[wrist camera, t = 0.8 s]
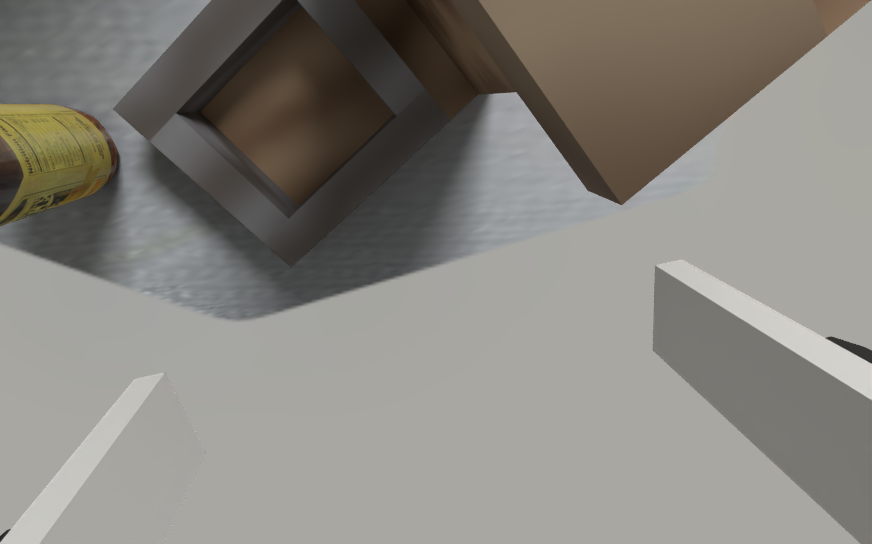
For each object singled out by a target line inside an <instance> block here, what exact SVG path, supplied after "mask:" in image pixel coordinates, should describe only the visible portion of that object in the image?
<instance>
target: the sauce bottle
mask: <svg viewBox="0 0 872 544" xmlns="http://www.w3.org/2000/svg"><path fill="white" fill-rule="evenodd" d="M117 157H118V155H117V149H116V147H115V145H114V142H113V140H112V139H111V137H110V135H109V134H108V133H107V131H106V130H105V128H104V127H103V126H101V124H100V123H99V122H98V121H97V120H96V119H95V118H94V117H92V116H90V115H88V114H85V113H83V112H81V111H79V110H75V109H72V108H67V107H62V106H58V105H52V104H0V226H2V225H5V224H7V223H10V222H14V221H17V220H20V219H23V218H26V217H28V216H31V215H34V214H37V213H39V212H42V211H45V210H48V209H51V208H54V207H57V206H60V205H63V204H66V203H69V202H72V201H75V200H78V199H80V198H83V197H86V196H89V195H91V194H94V193H95V192H97V191H98V190H99V189H100V188H101V187H103V186H105V185H107V184H108V183H109V182H110V181H111V180H112V177H113V175H114V173H115V170H116V164H117Z"/></svg>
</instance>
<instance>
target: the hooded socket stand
mask: <svg viewBox="0 0 872 544" xmlns="http://www.w3.org/2000/svg"><path fill="white" fill-rule="evenodd" d="M869 1H871V0H211V2H210V3H209V4H208V5H207V6H206V7H205V8H204V9H203V10H202V11H201V13H200V14H199V15H198V16H197V17H196V18H195V19H194V20H193V21H192V22H191V24H190V25H189V26H188V27H187V28H186V29H185V30H184V31H183V32H182V33H181V35H180V36H179V37H178V38H177V39H176V40H175V41H174V42H173V43H172V44H171V46H170V47H169V48H168V49H167V50H166V51H165V52H164V53H163V54H162V55H161V57H160V58H159V59H158V60H157V61H156V62H155V63H154V64H153V65H152V66H151V68H150V69H149V70H148V71H147V72H146V73H145V74H144V75H143V76H142V77H141V79H140V80H139V81H138V82H137V83H136V84H135V85H134V86H133V87H132V88H131V90H130V91H129V92H128V93H127V94H126V95H125V96H124V97H123V98H122V99H121V101H120V102H119V103H118V104H117V105H116V106H115V107H114V108H113V110H114V111H116V112H117V113H118V114H119V115H120V116H121V117H122V118H123V119H125V120H126V121H127V122H128V123H129V124H130V125H131V126H132V127H134V128H135V129H136V130H137V131H138V132H139V133H140V134H141V135H143V136H144V137H145V138H146V139H147V140H148V141H149V142H151V143H152V144H153V145H154V146H155V147H156V148H157V149H158V150H160V151H161V152H162V153H163V154H164V155H165V156H166V157H167V158H169V159H170V160H171V161H172V162H173V163H174V164H175V165H176V166H178V167H179V168H180V169H181V170H182V171H183V172H184V173H185V174H187V175H188V176H189V177H190V178H191V179H192V180H193V181H194V182H196V183H197V184H198V185H199V186H200V187H201V188H202V189H203V190H205V191H206V192H207V193H208V194H209V195H210V196H211V197H212V198H214V199H215V200H216V201H217V202H218V203H219V204H220V205H221V206H223V207H224V208H225V209H226V210H227V211H228V212H229V213H230V214H232V215H233V216H234V217H235V218H236V219H237V220H238V221H240V222H241V223H242V224H243V225H244V226H245V227H246V228H247V229H249V230H250V231H251V232H252V233H253V234H254V235H255V236H256V237H258V238H259V239H260V240H261V241H262V242H263V243H264V244H265V245H267V246H268V247H269V248H270V249H271V250H272V251H273V252H274V253H276V254H277V255H278V256H279V257H280V258H281V259H282V260H283V261H285V262H286V263H287V264H288V265H289V266H290V267H292V266H293V265H294V264H295V263H296V262H298V261H299V260H300V259H301V258H302V257H303V256H304V255H305V254H306V253H307V252H308V251H309V250H310V249H312V248H313V247H314V246H315V245H316V244H317V243H318V242H319V241H320V240H321V239H322V238H323V237H325V236H326V235H327V234H328V233H329V232H330V231H331V230H332V229H333V228H334V227H335V226H336V225H337V224H339V223H340V222H341V221H342V220H343V219H344V218H345V217H346V216H347V215H348V214H349V213H350V212H352V211H353V210H354V209H355V208H356V207H357V206H358V205H359V204H360V203H361V202H362V201H363V200H365V199H366V198H367V197H368V196H369V195H370V194H371V193H372V192H373V191H374V190H375V189H376V188H377V187H379V186H380V185H381V184H382V183H383V182H384V181H385V180H386V179H387V178H388V177H389V176H390V175H392V174H393V173H394V172H395V171H396V170H397V169H398V168H399V167H400V166H401V165H402V164H403V163H404V162H406V161H407V160H408V159H409V158H410V157H411V156H412V155H413V154H414V153H415V152H416V151H417V150H419V149H420V148H421V147H422V146H423V145H424V144H425V143H426V142H427V141H428V140H429V139H430V138H431V137H433V136H434V135H435V134H436V133H437V132H438V131H439V130H440V129H441V128H442V127H443V126H444V125H446V124H447V123H448V122H449V121H450V120H451V119H452V118H453V117H454V116H455V115H456V114H457V113H458V112H459V111H460V110H461V109H463V108H464V107H465V106H466V105H467V104H468V103H469V102H470V101H471V100H472V99H473V98H474V97H475V96H477V95H478V94H493V93H510V92H517V93H518V95H519V96H520V97H521V99H522V100H523V102H524V103H525V104H526V106H527V107H528V108H529V110H530V111H531V113H532V114H533V115H534V117H535V118H536V119H537V121H538V122H539V124H540V125H541V126H542V128H543V129H544V131H545V132H546V133H547V135H548V136H549V137H550V139H551V140H552V142H553V143H554V144H555V146H556V147H557V149H558V150H559V151H560V153H561V154H562V155H563V157H564V158H565V160H566V161H567V162H568V164H569V165H570V166H571V168H572V169H573V171H574V172H575V173H576V175H577V176H578V178H579V179H580V180H581V182H582V183H583V184H584V186H585V187H586V189H587V190H588V191H590V192H592V193H595V194H597V195H599V196H602V197H604V198H606V199H609V200H611V201H613V202H616V203H618V204H620V205H623V204H624V203H625V202H626V201H627V200H629V199H630V198H631V197H632V196H633V195H635V194H636V193H637V192H638V191H640V190H641V189H642V188H643V187H644V186H646V185H647V184H648V183H649V182H650V181H652V180H653V179H654V178H655V177H657V176H658V175H659V174H660V173H661V172H663V171H664V170H665V169H666V168H668V167H669V166H670V165H671V164H672V163H674V162H675V161H676V160H677V159H678V158H680V157H681V156H682V155H683V154H685V153H686V152H687V151H688V150H689V149H691V148H692V147H693V146H694V145H695V144H697V143H698V142H699V141H700V140H702V139H703V138H704V137H705V136H706V135H708V134H709V133H710V132H711V131H713V130H714V129H715V128H716V127H717V126H719V125H720V124H721V123H722V122H723V121H725V120H726V119H727V118H728V117H730V116H731V115H732V114H733V113H734V112H736V111H737V110H738V109H739V108H740V107H742V106H743V105H744V104H745V103H747V102H748V101H749V100H750V99H751V98H753V97H754V96H755V95H756V94H757V93H759V92H760V91H761V90H762V89H764V88H765V87H766V86H767V85H768V84H770V83H771V82H772V81H773V80H774V79H776V78H777V77H778V76H779V75H781V74H782V73H783V72H784V71H785V70H787V69H788V68H789V67H790V66H792V65H793V64H794V63H795V62H796V61H798V60H799V59H800V58H801V57H803V56H804V55H805V54H806V53H807V52H808V51H810V50H811V49H812V48H813V47H815V46H816V45H817V44H818V43H819V42H821V41H822V40H823V39H824V38H825V37H827V36H828V35H829V34H830V33H832V32H833V31H834V30H835V29H836V28H838V27H839V26H840V25H841V24H843V23H844V22H845V21H846V20H847V19H849V18H850V17H851V16H852V15H853V14H855V13H856V12H857V11H858V10H860V9H861V8H862V7H863V6H865V5H866V4H867V3H868V2H869Z"/></svg>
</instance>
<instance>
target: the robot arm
mask: <svg viewBox="0 0 872 544" xmlns="http://www.w3.org/2000/svg"><path fill="white" fill-rule="evenodd" d="M654 290H655V291H654V325H653V351H654V352H655V353H656V354H657V355H658V356H660V357H661V358H662V359H663V360H664V361H665V362H666V363H667V364H668V365H669V366H670V367H671V368H672V369H674V370H675V371H676V372H677V373H678V374H679V375H680V376H681V377H682V378H683V379H684V380H685V381H687V382H688V383H689V384H690V385H691V386H692V387H693V388H694V389H695V390H696V391H697V392H698V393H700V395H701V396H703V397H704V398H705V399H706V400H707V401H708V402H709V403H710V404H711V405H712V406H713V407H714V408H715V409H717V410H718V411H719V412H720V413H721V414H722V415H723V416H724V417H725V418H726V419H728V421H729V422H731V423H732V424H733V425H734V426H735V427H736V428H737V429H738V430H739V431H740V432H741V433H742V434H743V435H744V436H745V437H747V438H748V439H749V440H750V441H751V442H752V443H753V444H754V445H755V446H756V447H757V448H758V449H759V450H761V451H762V452H763V453H764V454H765V455H766V456H767V457H768V458H769V459H770V460H771V461H772V462H773V463H774V464H776V465H777V466H778V467H779V468H780V469H781V470H782V471H783V472H784V473H785V474H786V475H788V476H789V477H790V478H791V479H792V480H793V481H794V482H795V483H796V484H797V485H798V486H799V487H800V488H801V489H802V490H804V491H805V492H806V493H807V494H808V495H809V496H810V497H811V498H812V499H813V500H814V501H815V502H816V503H817V504H819V505H820V506H821V507H822V508H823V509H824V510H825V511H826V512H827V513H828V514H829V515H830V516H832V517H833V518H834V519H835V520H836V521H837V522H838V523H839V524H840V525H841V526H842V527H843V528H844V529H845V530H846V531H848V532H849V533H850V534H851V535H852V536H853V537H854V538H855V539H856V540H857V541H858V542H859V543H861V544H872V351H871V350H869V349H867V348H865V347H862V346H859V345H856V344H853V343H850V342H847V341H844V340H841V339H837V338H834V337H827V338H824V337H822V336H820V335H818V334H817V333H815V332H813V331H811V330H809V329H807V328H805V327H804V326H802V325H800V324H798V323H797V322H795V321H793V320H791V319H789V318H787V317H786V316H784V315H782V314H780V313H778V312H777V311H775V310H773V309H771V308H769V307H767V306H766V305H764V304H762V303H760V302H758V301H757V300H755V299H753V298H751V297H749V296H747V295H746V294H744V293H742V292H740V291H738V290H737V289H735V288H733V287H731V286H729V285H727V284H726V283H724V282H722V281H720V280H718V279H716V278H714V277H713V276H711V275H709V274H707V273H705V272H704V271H702V270H700V269H698V268H696V267H695V266H693V265H691V264H689V263H687V262H686V261H684V260H677V261H672V262H668V263H664V264H659V265H655V287H654ZM205 453H206V452H205V450H204V448H203V446H202V444H201V442H200V440H199V438H198V436H197V434H196V432H195V430H194V428H193V426H192V424H191V422H190V421H189V418H188V416H187V414H186V412H185V410H184V408H183V406H182V404H181V403H180V401H179V399H178V397H177V395H176V393H175V391H174V389H173V387H172V385H171V383H170V381H169V379H168V377H167V375H166V373H165V372H164V373H159V374H155V375H150V376H146V377H141V378H136V379H134V380H133V382H132V383H131V384H130V385H129V386H128V388H127V389H126V390H125V391H124V393H123V394H122V395H121V396H120V397H119V399H118V400H117V401H116V402H115V403H114V405H113V406H112V407H111V408H110V409H109V411H108V412H107V413H106V414H105V416H104V417H103V418H102V419H101V420H100V422H99V423H98V424H97V426H96V427H95V428H94V429H93V430H92V431H91V433H90V434H89V435H88V437H86V439H85V440H84V441H83V442H82V444H81V445H80V446H79V447H78V448H77V450H76V451H75V452H74V453H73V455H72V456H71V457H70V458H69V459H68V461H67V462H66V463H65V464H64V465H63V467H62V468H61V469H60V470H59V472H58V473H57V474H56V475H55V477H54V478H53V479H52V480H51V481H50V483H49V484H48V485H47V486H46V487H45V489H44V490H43V491H42V492H41V493H40V495H39V496H38V497H37V498H36V500H35V501H34V502H33V503H32V504H31V506H30V507H29V508H28V509H27V510H26V512H25V513H24V514H23V515H22V517H21V518H20V519H19V520H18V521H17V523H16V524H15V525H14V527H13V528H12V529H9V530H7V531H6V532H4V533H3V534H2V535H1V536H0V544H164V543H165V540H166V538H167V536H168V534H169V532H170V529H171V527H172V525H173V523H174V521H175V518H176V516H177V514H178V512H179V510H180V507H181V505H182V503H183V501H184V499H185V497H186V494H187V493H188V490H189V488H190V486H191V484H192V482H193V479H194V477H195V475H196V473H197V471H198V469H199V466H200V464H201V462H202V460H203V458H204V455H205Z"/></svg>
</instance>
